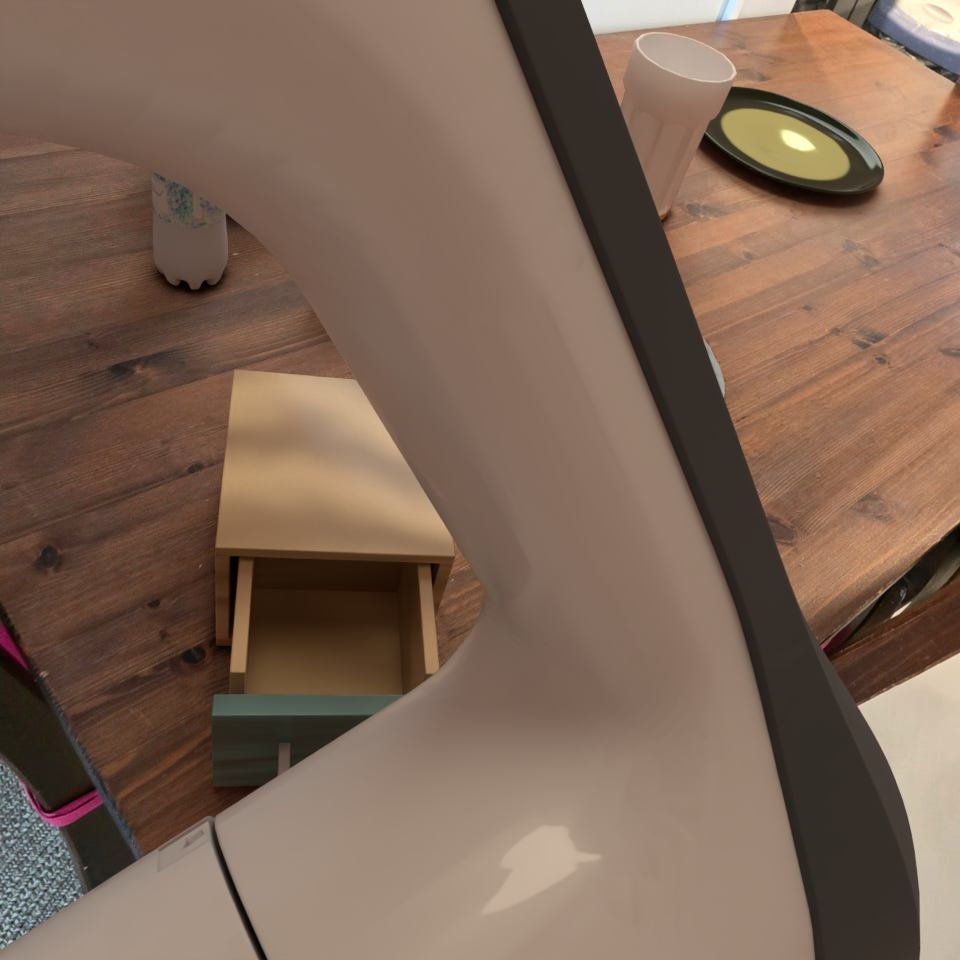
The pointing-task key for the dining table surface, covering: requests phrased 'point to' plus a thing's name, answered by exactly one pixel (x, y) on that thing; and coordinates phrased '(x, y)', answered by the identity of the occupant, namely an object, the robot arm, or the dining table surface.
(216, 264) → the bottle
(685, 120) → the cup
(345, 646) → the drawer
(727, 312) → the dining table surface
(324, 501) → the cabinet
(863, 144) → the plate
